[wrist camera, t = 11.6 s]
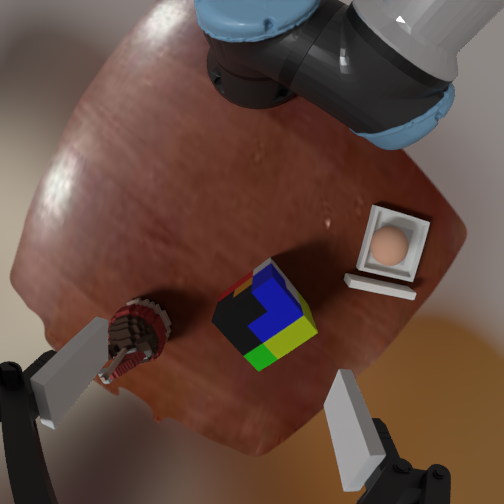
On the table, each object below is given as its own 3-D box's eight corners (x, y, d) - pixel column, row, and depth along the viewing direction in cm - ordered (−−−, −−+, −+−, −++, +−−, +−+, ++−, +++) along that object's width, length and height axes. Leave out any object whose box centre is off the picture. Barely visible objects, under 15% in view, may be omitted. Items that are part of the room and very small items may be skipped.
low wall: (345, 272, 48) (351, 279, 45) (407, 286, 49) (416, 293, 45) (343, 279, 49) (349, 287, 45) (405, 292, 49) (414, 300, 45)
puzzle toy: (270, 257, 48) (272, 276, 38) (308, 304, 50) (317, 332, 40) (220, 294, 50) (211, 321, 40) (259, 338, 51) (258, 371, 42)
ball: (382, 222, 47) (370, 219, 42) (416, 232, 43) (408, 231, 39) (372, 257, 48) (359, 259, 44) (405, 269, 45) (396, 273, 40)
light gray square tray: (372, 204, 46) (376, 205, 44) (424, 220, 46) (430, 222, 44) (355, 266, 48) (359, 270, 46) (408, 278, 48) (412, 282, 46)
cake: (161, 289, 50) (117, 340, 32) (183, 337, 52) (153, 402, 34) (111, 306, 51) (58, 355, 34) (134, 350, 53) (93, 410, 35)
